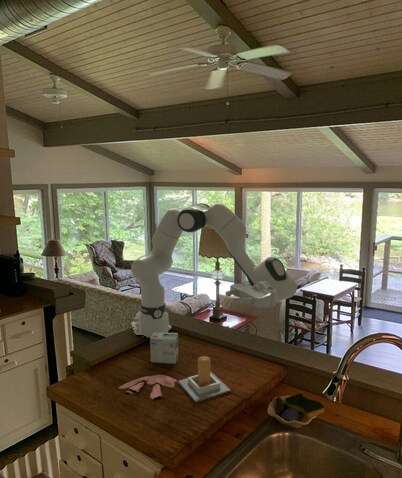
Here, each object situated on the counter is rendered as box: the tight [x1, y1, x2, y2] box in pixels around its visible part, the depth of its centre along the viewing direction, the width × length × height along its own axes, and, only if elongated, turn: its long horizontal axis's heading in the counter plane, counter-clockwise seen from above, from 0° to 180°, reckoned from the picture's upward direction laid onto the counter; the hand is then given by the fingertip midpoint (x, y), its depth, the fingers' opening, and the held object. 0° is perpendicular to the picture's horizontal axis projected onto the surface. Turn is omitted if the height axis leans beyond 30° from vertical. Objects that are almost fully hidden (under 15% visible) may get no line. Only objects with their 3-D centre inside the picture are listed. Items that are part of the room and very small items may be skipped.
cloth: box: [118, 374, 178, 400], centre depth 138 cm, size 20×22×2 cm
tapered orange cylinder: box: [197, 355, 211, 387], centre depth 138 cm, size 4×4×10 cm
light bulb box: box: [149, 332, 179, 365], centre depth 159 cm, size 11×7×11 cm, turn 84°
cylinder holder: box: [177, 371, 231, 403], centre depth 139 cm, size 14×14×3 cm
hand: (233, 297), depth 146 cm, fingers open, 8 cm apart
